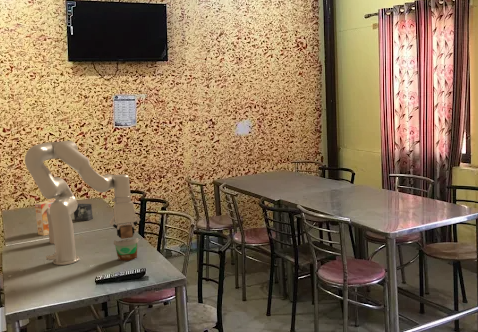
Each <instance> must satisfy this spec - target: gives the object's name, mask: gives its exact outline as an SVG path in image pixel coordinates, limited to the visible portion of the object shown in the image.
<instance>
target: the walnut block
mask: <svg viewBox="0 0 478 332" xmlns="http://www.w3.org/2000/svg"><path fill="white" fill-rule="evenodd" d="M120 231H121V238H120V239H122V240H125V239H129V238H134V236H133V233H132V226H131V224H130V223H125V224H120Z"/></svg>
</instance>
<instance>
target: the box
mask: <svg viewBox="0 0 478 332" xmlns="http://www.w3.org/2000/svg"><path fill="white" fill-rule="evenodd" d="M77 204H78V206H77V209H76V211H75V212H73V216H74V217H73V219H74V221H76V222H77V221H82V222H84V221H85V222H88V221H91V220H93V218H94V217H93V208H92V203H77Z"/></svg>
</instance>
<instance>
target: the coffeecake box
mask: <svg viewBox="0 0 478 332" xmlns="http://www.w3.org/2000/svg"><path fill="white" fill-rule="evenodd" d="M54 201H56V200H55V198H53V199H48V200H44V201H40V202H34V209H35V220H36V230H37V235H38V236H43V237H44V236H49V224H48V218H47V208H50V206H51V204H52V203H53V202H54Z"/></svg>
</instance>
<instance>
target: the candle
mask: <svg viewBox="0 0 478 332" xmlns="http://www.w3.org/2000/svg"><path fill="white" fill-rule="evenodd" d="M47 218H48V224H49V235H48V237H49V238H48V239H49V244H52V245H53V244H54V245H55V243H54V233H53V225H52V220H51V216H50V208H47Z"/></svg>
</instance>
